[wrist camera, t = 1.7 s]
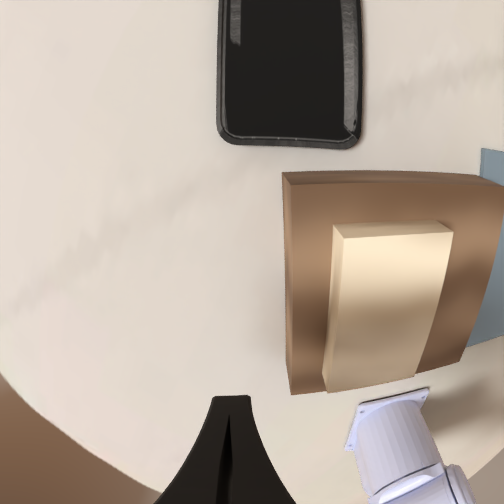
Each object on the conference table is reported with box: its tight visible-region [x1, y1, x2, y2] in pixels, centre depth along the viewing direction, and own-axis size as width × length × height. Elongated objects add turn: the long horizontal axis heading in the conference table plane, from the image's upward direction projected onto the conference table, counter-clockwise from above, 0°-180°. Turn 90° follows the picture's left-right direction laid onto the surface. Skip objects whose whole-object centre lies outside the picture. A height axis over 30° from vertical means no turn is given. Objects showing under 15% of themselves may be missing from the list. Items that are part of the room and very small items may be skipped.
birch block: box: [322, 220, 454, 393], centre depth 15 cm, size 10×6×2 cm, turn 4°
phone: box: [216, 0, 362, 149], centre depth 13 cm, size 8×1×15 cm
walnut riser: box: [282, 170, 504, 395], centre depth 18 cm, size 14×14×4 cm
